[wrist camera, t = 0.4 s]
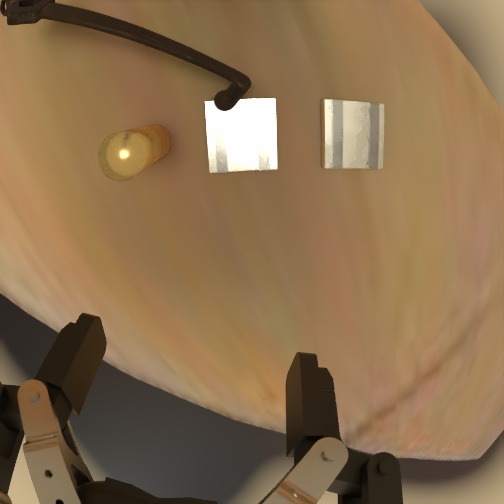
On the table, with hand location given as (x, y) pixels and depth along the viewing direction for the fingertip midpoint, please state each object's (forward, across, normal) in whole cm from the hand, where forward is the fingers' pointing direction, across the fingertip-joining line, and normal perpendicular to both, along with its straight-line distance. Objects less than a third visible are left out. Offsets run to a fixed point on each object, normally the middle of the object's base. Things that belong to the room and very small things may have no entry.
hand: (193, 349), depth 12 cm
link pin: (+26, +10, 0) cm, 28 cm away
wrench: (+23, +14, -14) cm, 30 cm away
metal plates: (+28, -6, -4) cm, 29 cm away
